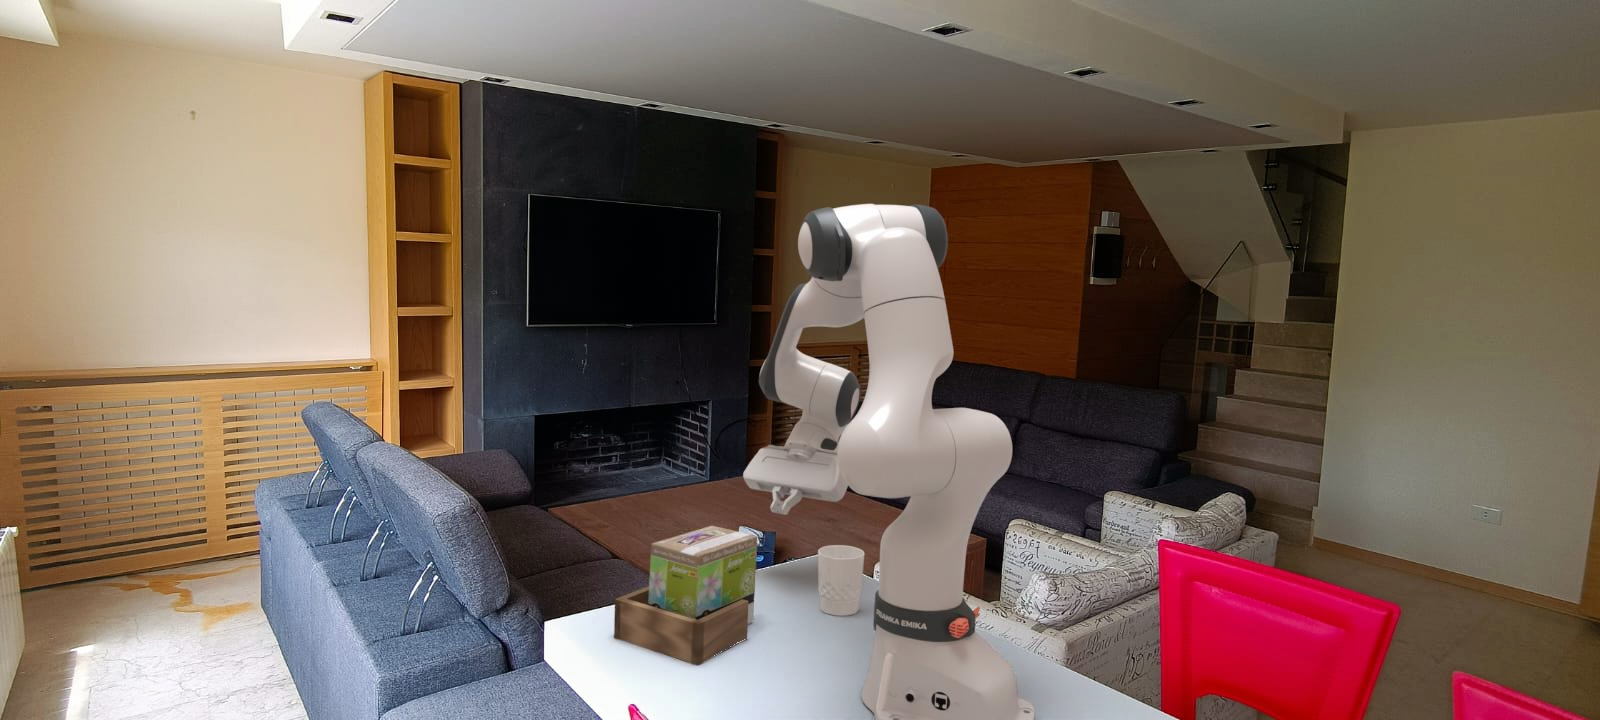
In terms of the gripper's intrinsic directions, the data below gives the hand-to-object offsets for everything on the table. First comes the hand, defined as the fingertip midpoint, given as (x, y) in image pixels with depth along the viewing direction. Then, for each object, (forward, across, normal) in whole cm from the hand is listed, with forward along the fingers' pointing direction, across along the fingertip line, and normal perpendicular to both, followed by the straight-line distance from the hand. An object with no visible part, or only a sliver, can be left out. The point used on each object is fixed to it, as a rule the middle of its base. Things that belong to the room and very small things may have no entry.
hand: (778, 511), depth 154 cm
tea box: (+25, 0, -4) cm, 25 cm away
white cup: (+10, +12, +12) cm, 20 cm away
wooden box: (+28, -1, -7) cm, 29 cm away
